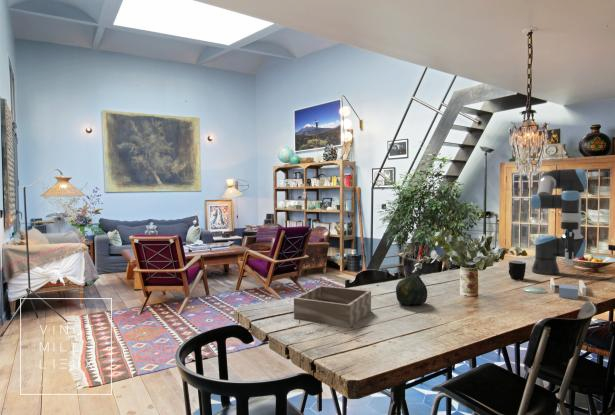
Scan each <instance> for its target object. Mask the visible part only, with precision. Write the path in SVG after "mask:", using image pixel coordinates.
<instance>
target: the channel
mask: <svg viewBox="0 0 615 415" xmlns="http://www.w3.org/2000/svg"><path fill="white" fill-rule="evenodd" d="M549 280H550V281H549V282H550V283H549V286H550V292H551V293H552V294H553V293H554V294H555V293H556V292H555V291H556V290H555V289H556V286H555V285H556V284H555V279H554V278H553V277H550V278H549ZM578 290H579V292H580V293H581V295H582V296H585V297H586V295H587V287H586V285H585V283H584V280H581V279H579V280H578Z"/></svg>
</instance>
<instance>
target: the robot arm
mask: <svg viewBox="0 0 615 415" xmlns="http://www.w3.org/2000/svg"><path fill="white" fill-rule="evenodd" d="M587 181H588V180H587V173H586V171H585V169H583V168H568V169H566V168H565V169H551V170H549V171H546V172H545V173H543V174H542V175H541V176H540V177H539V178H538V180H537V185H538V188H537V191H536V192H537V193H536V194H531V197H530V207H531V208H532V209H548V210H550V209H553V210H554V209H555V210H557V209H558V210H561V213H560V215H559V217H560V218H561V221H560V229H561V230H563V233H562V234H561V235H560V237H558V236H557V235H554V234H553V235H552V234H551V235H550V234H549V235H541V236H537V237H536V238H535V244H534V245H535V250H534V252H535V253H534V254H535V259H534V261H533V264H532V267H531V272H532V273H534V274H538V275H548V276H554V275H555V276H556V275H559V274H560V269H559V264H558V262H557V258H564V262H566V266H569V267H570V266H571V267H573V266H574V259H582V258H583V257H584V256H585V251H586V244H587V239H585V238H584V236H583V235H582V234H581V230H582V229H581V224H582V223H581V222H582V221H581V220H582V195H583V194H584V193H585V190H587V189H588V182H587ZM555 189H556V190H561V194H554V192H553V191H554V190H555Z"/></svg>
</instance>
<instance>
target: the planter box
mask: <svg viewBox="0 0 615 415" xmlns="http://www.w3.org/2000/svg"><path fill="white" fill-rule="evenodd" d="M371 311H372V291H371V290H362V289H354V288H345V287H336V286H327V285H318V286H317V287H314V288H312V289H311V290H308V291H305V292H304V293H301V294H300V295H298V296H296V297H294V298H293V319H294V320H297V321H304V322H309V323H316V324H323V325H329V326H334V327H335V326H336V327H343V328H347V329H350V328H352V327H353V326H354V325H355V324H356V323H358V322H359V321H360V320H362V319H363V318H364V317H365V316H367V315H368V314H369V313H370V312H371Z"/></svg>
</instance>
